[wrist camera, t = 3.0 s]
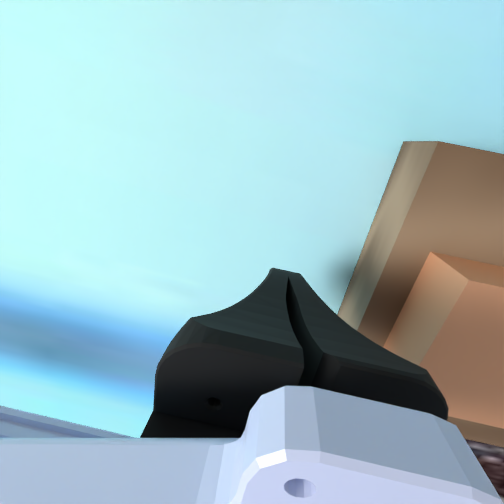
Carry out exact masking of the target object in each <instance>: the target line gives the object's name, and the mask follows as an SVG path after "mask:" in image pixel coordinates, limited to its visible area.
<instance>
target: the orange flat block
mask: <svg viewBox="0 0 504 504" xmlns="http://www.w3.org/2000/svg"><path fill="white" fill-rule="evenodd" d="M383 348H385V349H387V350H388V351H390V352H392V353H394V354H396V355H398V356H400V357H402V358H404V359H406V360H408V361H410V362H412V363H414V364H416V365H418V366H420V367H422V368H424V369H426V370H427V371H428V372H429V374H430V375H431V377H432V379H433V380H434V382H435V383H436V385H437V386H438V388H439V390H440V391H441V393H442V394H443V396H444V398H445V400H446V403H447V405H448V408H449V410H448V416H450V417H454V418H459V419H463V420H467V421H472V422H476V423H481V424H485V425H489V426H494V427H498V428H502V429H504V267H501V266H497V265H492V264H487V263H482V262H478V261H473V260H468V259H464V258H459V257H454V256H449V255H445V254H440V253H435V252H430V253H429V255H428V257H427V259H426V261H425V263H424V265H423V267H422V269H421V271H420V273H419V275H418V277H417V279H416V281H415V283H414V285H413V288H412V290H411V292H410V294H409V296H408V298H407V300H406V302H405V304H404V306H403V308H402V310H401V312H400V314H399V316H398V318H397V320H396V322H395V324H394V326H393V328H392V330H391V332H390V334H389V336H388V338H387V340H386V342H385V344H384V346H383Z"/></svg>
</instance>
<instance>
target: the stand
mask: <svg viewBox="0 0 504 504" xmlns="http://www.w3.org/2000/svg"><path fill="white" fill-rule="evenodd" d="M430 252H435V253H440V254H445V255H449V256H454V257H459V258H464V259H468V260H473V261H478V262H482V263H487V264H492V265H497V266H501V267H504V154H500V153H495V152H490V151H485V150H480V149H475V148H470V147H465V146H460V145H455V144H450V143H445V142H440V141H405V142H403V144H402V147H401V149H400V152H399V155H398V157H397V160H396V163H395V165H394V168H393V170H392V173H391V176H390V178H389V181H388V183H387V186H386V189H385V191H384V194H383V197H382V199H381V202H380V204H379V207H378V210H377V212H376V215H375V217H374V220H373V223H372V225H371V228H370V231H369V233H368V236H367V238H366V241H365V244H364V246H363V249H362V251H361V254H360V257H359V259H358V262H357V265H356V267H355V270H354V272H353V275H352V278H351V280H350V283H349V285H348V288H347V291H346V293H345V296H344V299H343V301H342V304H341V306H340V309H339V312H338V314H337V315H338V316H339V317H340V318H341V319H342V320H344V321H345V322H346V323H347V324H349V325H350V326H351V327H352V328H354V329H355V330H357V331H358V332H360V333H361V334H362V335H364V336H365V337H367V338H368V339H370V340H371V341H373V342H375V343H376V344H378V345H380V346H381V347H383V346H384V344H385V342H386V340H387V338H388V336H389V334H390V332H391V330H392V328H393V326H394V324H395V322H396V320H397V318H398V316H399V314H400V312H401V310H402V308H403V306H404V304H405V302H406V300H407V298H408V296H409V294H410V292H411V290H412V288H413V285H414V283H415V281H416V279H417V277H418V275H419V273H420V271H421V269H422V267H423V265H424V263H425V261H426V259H427V257H428V255H429V253H430ZM447 421H448V422H450V423H452V424H454V425H456V426H457V428H458V429H459V431H460V432H461V434H462V436H463V437H464V438H465V439H469V440H474V441H478V442H483V443H487V444H491V445H496V446H500V447H504V429H502V428H498V427H494V426H489V425H485V424H481V423H476V422H472V421H467V420H463V419H459V418H454V417H450V416H448V420H447Z"/></svg>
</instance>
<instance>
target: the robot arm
mask: <svg viewBox="0 0 504 504" xmlns="http://www.w3.org/2000/svg"><path fill="white" fill-rule="evenodd" d="M448 410H449V408H448V405H447V403H446V400H445V398H444V396H443V394H442V393H441V391H440V390H439V388H438V386H437V385H436V383H435V382H434V380H433V379H432V377H431V375H430V374H429V372H428V371H427V370H426V369H424V368H422V367H420V366H418V365H416V364H414V363H412V362H410V361H408V360H406V359H404V358H402V357H400V356H398V355H396V354H394V353H392V352H390V351H388V350H387V349H385V348H383V347H381V346H380V345H378V344H376V343H375V342H373V341H371V340H370V339H368V338H367V337H365V336H364V335H362V334H361V333H360V332H358V331H357V330H355V329H354V328H352V327H351V326H350V325H349V324H347V323H346V322H345V321H344V320H342V319H341V318H340V317H339V316H338V315H337V314H335V313H334V312H333V311H332V310H331V309H330V308H329V307H328V306H327V305H326V304H325V303H324V302H323V301H322V300H321V298H320V297H319V296H318V295H317V294H316V293H315V292H314V290H313V289H312V288H311V287H310V285H309V284H308V283H307V282H306V280H305V279H304V278H303V277H302V275H301V274H299V273H295V272H290V271H285V270H281V269H276V268H272V269H270V271H269V274H268V275H267V277H266V278H265V279H264V281H263V282H262V283H261V284H260V285H259V286H258V287H257V288H256V289H255V290H254V291H253V292H252V293H251V294H250V295H248V296H247V297H246V298H244V299H243V300H241V301H240V302H238V303H236V304H234V305H233V306H231V307H229V308H226V309H223V310H221V311H218V312H215V313H211V314H206V315H202V316H197V317H192V318H190V319H189V320H188V321H187V322H186V324H185V325H184V326H183V327H182V328H181V329H180V331H179V332H178V333H177V334H176V336H175V337H174V338H173V340H172V341H171V342H170V344H169V346H168V347H167V349H166V351H165V353H164V354H163V356H162V358H161V360H160V362H159V363H158V366H157V370H156V374H155V390H154V409H153V412H152V414H151V416H150V418H149V420H148V422H147V425H146V427H145V429H144V431H143V433H142V435H141V437H140V438H134V437H130V436H126V435H122V434H118V433H113V432H109V431H105V430H101V429H97V428H92V427H88V426H84V425H80V424H76V423H71V422H67V421H63V420H59V419H55V418H50V417H46V416H42V415H38V414H34V413H29V412H25V411H21V410H17V409H13V408H8V407H4V406H0V504H504V503H503V501H502V500H501V498H500V496H499V495H498V493H497V491H496V490H495V488H494V486H493V485H492V483H491V482H490V480H489V478H488V477H487V475H486V473H485V472H484V470H483V468H482V467H481V465H480V464H479V462H478V460H477V459H476V457H475V455H474V454H473V452H472V450H471V449H470V447H469V446H468V444H467V442H466V441H465V439H464V437H463V436H462V434H461V432H460V431H459V429H458V428H457V426H456V425H454V424H452V423H450V422H448V421H447V420H448Z"/></svg>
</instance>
